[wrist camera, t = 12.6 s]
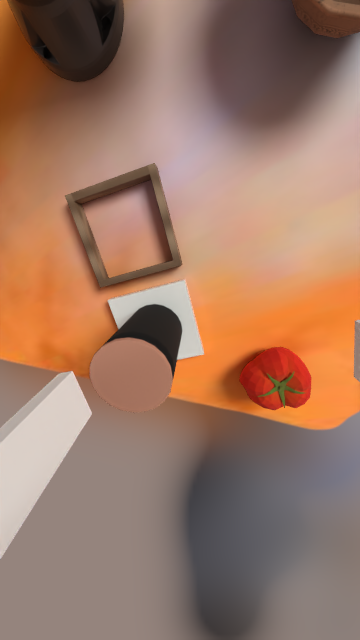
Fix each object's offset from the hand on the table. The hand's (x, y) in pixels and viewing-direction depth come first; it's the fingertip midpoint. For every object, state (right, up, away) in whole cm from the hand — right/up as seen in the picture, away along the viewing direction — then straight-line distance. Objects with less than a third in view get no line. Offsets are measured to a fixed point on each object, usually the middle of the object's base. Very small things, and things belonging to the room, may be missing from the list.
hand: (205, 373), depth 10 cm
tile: (-6, +1, +35) cm, 36 cm away
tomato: (+18, -8, +37) cm, 42 cm away
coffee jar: (-6, +1, +34) cm, 34 cm away
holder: (-11, +19, +30) cm, 37 cm away
